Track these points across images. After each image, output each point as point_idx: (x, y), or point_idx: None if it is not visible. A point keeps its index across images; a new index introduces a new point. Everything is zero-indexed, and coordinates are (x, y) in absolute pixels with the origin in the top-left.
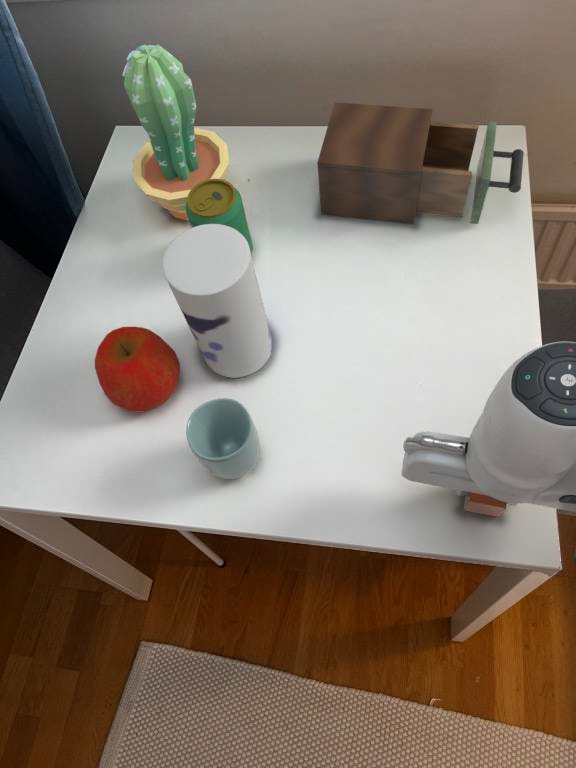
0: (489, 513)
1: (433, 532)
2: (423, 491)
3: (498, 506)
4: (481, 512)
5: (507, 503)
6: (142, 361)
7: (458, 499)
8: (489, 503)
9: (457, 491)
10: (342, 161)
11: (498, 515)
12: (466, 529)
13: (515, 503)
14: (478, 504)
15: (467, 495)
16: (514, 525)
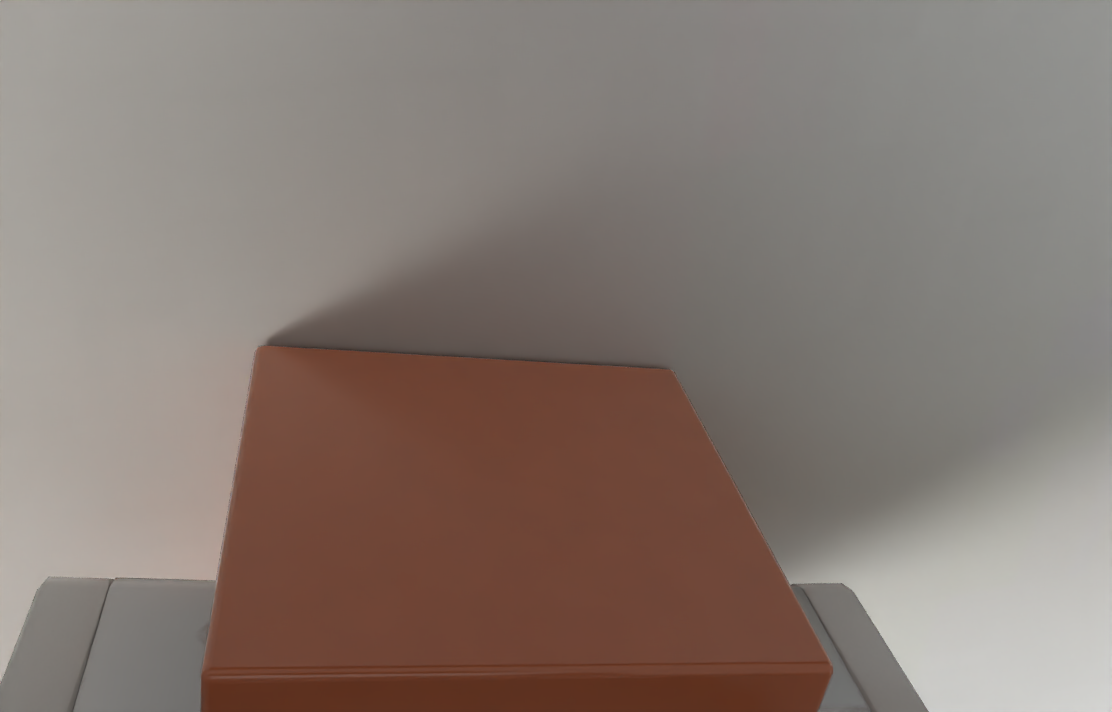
0: (390, 393)
1: (1075, 66)
2: (1047, 489)
3: (352, 683)
4: (485, 384)
5: (169, 624)
6: None
7: None
8: (510, 692)
9: (920, 703)
10: None
11: (266, 381)
12: (667, 144)
13: (39, 688)
14: (667, 616)
15: None
16: (26, 263)
